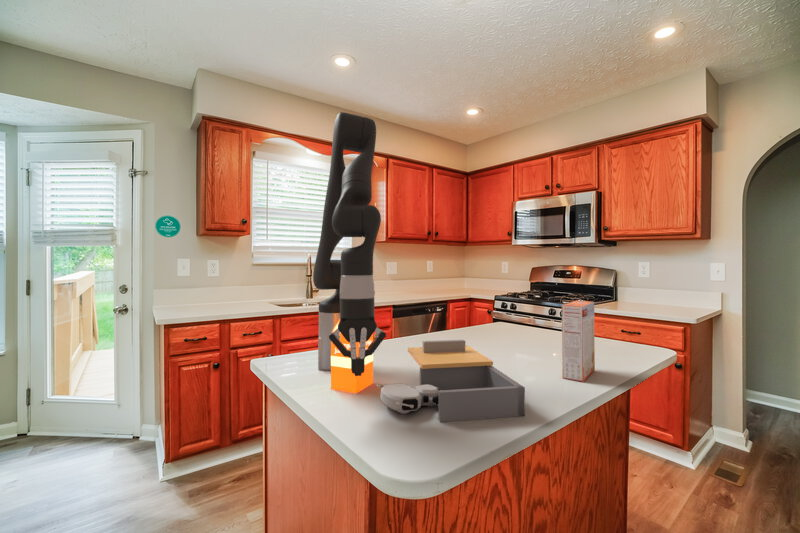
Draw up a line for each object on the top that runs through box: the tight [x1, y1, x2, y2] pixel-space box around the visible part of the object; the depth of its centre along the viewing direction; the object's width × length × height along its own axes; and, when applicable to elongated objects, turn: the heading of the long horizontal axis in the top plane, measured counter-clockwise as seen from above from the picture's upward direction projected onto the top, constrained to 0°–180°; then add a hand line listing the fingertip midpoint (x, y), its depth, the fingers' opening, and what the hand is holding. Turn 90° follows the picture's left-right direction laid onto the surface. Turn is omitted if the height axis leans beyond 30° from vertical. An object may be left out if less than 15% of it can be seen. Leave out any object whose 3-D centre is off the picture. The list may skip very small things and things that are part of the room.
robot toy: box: [375, 383, 440, 415], centre depth 83 cm, size 12×4×15 cm
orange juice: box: [330, 319, 374, 394], centre depth 97 cm, size 8×9×20 cm
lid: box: [407, 339, 494, 369], centre depth 101 cm, size 18×18×4 cm
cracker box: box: [561, 300, 596, 383], centre depth 107 cm, size 14×6×21 cm, turn 141°
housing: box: [419, 365, 526, 423], centre depth 85 cm, size 18×18×6 cm
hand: (357, 374), depth 81 cm, fingers closed
